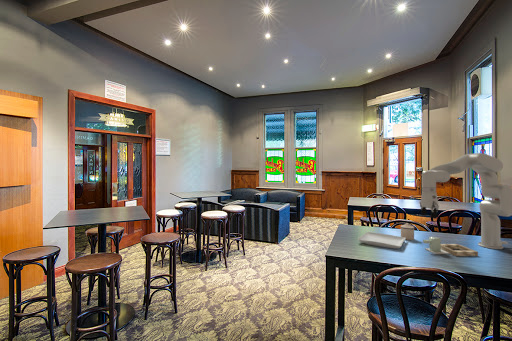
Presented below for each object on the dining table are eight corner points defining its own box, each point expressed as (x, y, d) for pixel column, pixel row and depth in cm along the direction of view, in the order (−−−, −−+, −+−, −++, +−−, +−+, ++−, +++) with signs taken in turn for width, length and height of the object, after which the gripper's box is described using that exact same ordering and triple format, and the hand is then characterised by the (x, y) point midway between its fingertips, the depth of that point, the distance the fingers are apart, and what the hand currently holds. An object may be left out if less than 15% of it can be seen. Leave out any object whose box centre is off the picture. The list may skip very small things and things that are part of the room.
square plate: (400, 251, 163) (400, 245, 163) (356, 244, 179) (356, 238, 179) (406, 242, 184) (406, 236, 184) (366, 236, 201) (366, 231, 201)
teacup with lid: (416, 240, 187) (416, 224, 186) (403, 240, 188) (403, 224, 188) (409, 236, 198) (409, 221, 198) (397, 235, 200) (397, 221, 200)
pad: (439, 249, 167) (439, 248, 167) (449, 253, 158) (449, 252, 158) (425, 249, 167) (425, 248, 167) (434, 253, 158) (434, 252, 158)
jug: (436, 248, 165) (436, 236, 165) (443, 251, 159) (442, 239, 159) (421, 249, 166) (421, 236, 166) (427, 252, 160) (427, 239, 160)
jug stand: (457, 247, 170) (457, 244, 170) (478, 256, 154) (478, 251, 154) (436, 247, 170) (436, 243, 170) (454, 255, 154) (454, 251, 154)
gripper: (444, 191, 153) (444, 219, 153) (426, 188, 170) (426, 214, 171) (431, 191, 153) (431, 219, 154) (414, 188, 171) (414, 214, 171)
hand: (428, 216), depth 162 cm, fingers open, 9 cm apart
